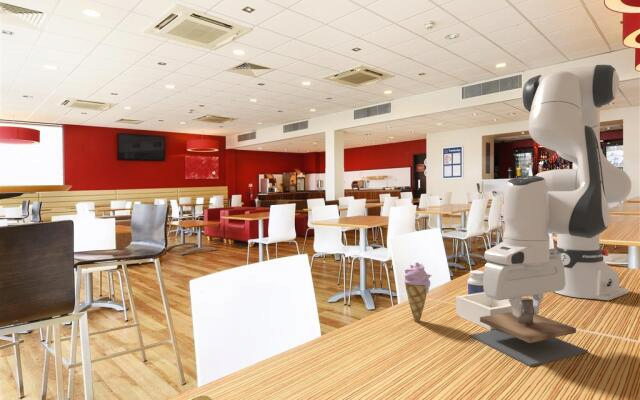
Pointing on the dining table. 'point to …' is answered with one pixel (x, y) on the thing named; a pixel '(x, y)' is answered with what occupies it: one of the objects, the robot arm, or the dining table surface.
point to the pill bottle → (475, 282)
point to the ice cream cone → (417, 288)
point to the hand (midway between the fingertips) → (525, 314)
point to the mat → (528, 347)
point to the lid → (528, 324)
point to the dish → (480, 307)
